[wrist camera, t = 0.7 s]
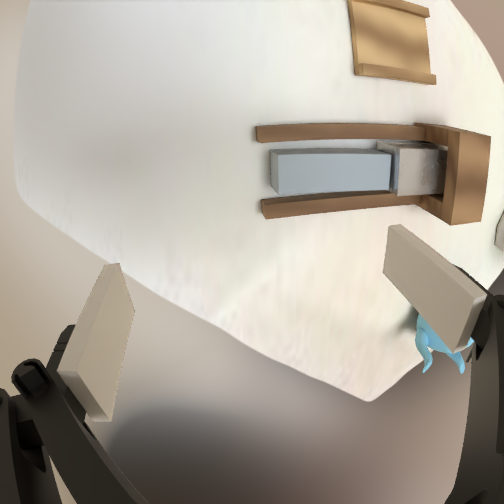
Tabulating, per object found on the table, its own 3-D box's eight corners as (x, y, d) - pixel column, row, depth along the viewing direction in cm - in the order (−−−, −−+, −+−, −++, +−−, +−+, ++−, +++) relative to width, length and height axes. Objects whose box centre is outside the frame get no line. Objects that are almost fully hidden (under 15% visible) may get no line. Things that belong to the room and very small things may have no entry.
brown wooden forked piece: (255, 122, 29) (272, 127, 22) (446, 125, 31) (490, 136, 24) (262, 216, 33) (279, 248, 26) (441, 199, 36) (480, 221, 28)
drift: (270, 184, 32) (278, 194, 29) (269, 149, 30) (277, 155, 27) (371, 180, 33) (388, 189, 30) (373, 148, 32) (391, 154, 28)
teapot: (433, 338, 48) (462, 375, 39) (388, 329, 44) (419, 373, 36) (472, 280, 44) (508, 313, 35) (432, 260, 40) (475, 297, 31)
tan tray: (346, -6, 23) (354, -11, 21) (418, 11, 24) (428, 8, 22) (355, 75, 27) (363, 74, 26) (426, 84, 28) (436, 84, 27)
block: (374, 183, 34) (397, 196, 29) (375, 141, 31) (400, 148, 27) (441, 181, 35) (466, 192, 30) (444, 144, 32) (470, 152, 28)
